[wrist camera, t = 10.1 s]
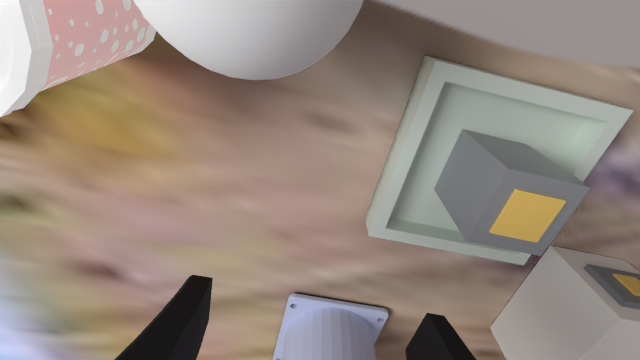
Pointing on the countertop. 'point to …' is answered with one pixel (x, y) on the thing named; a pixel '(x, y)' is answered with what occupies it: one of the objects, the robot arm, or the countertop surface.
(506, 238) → the block
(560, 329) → the control box
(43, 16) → the beverage cup
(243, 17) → the lightbulb
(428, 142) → the parts tray
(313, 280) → the countertop surface
